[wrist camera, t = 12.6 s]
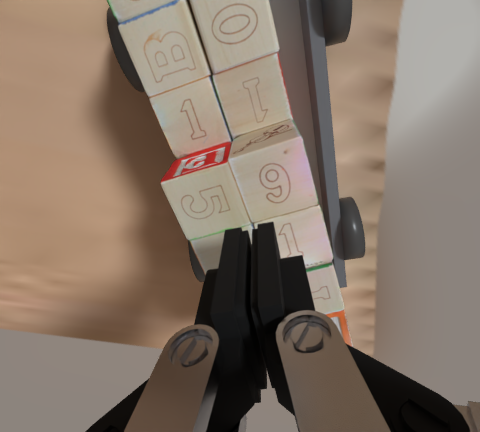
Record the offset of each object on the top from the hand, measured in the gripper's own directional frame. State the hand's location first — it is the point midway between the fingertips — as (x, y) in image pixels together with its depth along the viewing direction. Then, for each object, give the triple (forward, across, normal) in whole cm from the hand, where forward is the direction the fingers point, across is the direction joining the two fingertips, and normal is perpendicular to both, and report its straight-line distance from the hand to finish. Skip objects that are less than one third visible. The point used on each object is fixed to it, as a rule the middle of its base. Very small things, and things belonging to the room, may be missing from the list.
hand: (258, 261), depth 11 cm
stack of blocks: (+15, 0, -2) cm, 15 cm away
